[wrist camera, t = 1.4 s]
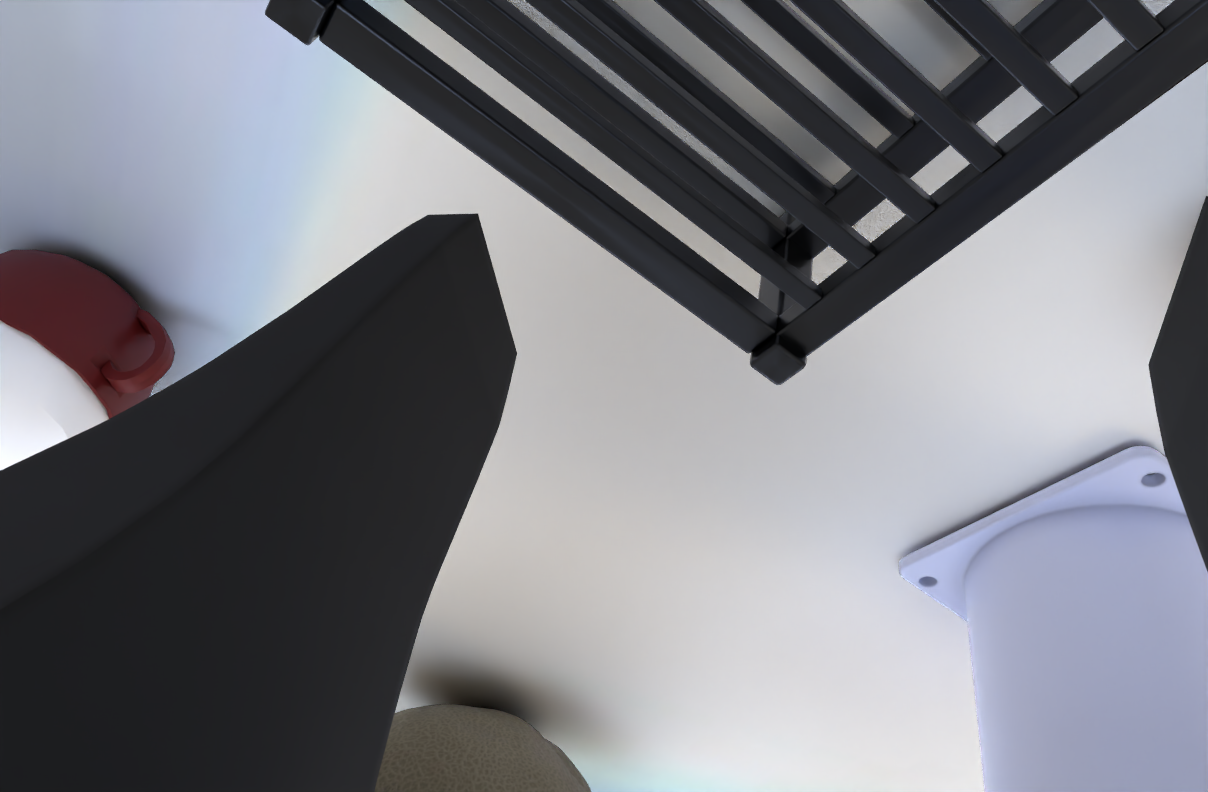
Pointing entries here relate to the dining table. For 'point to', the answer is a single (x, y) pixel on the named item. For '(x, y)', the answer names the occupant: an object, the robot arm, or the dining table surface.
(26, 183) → the dining table surface
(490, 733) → the cantaloupe
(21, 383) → the cocoa
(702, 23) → the shoe rack
